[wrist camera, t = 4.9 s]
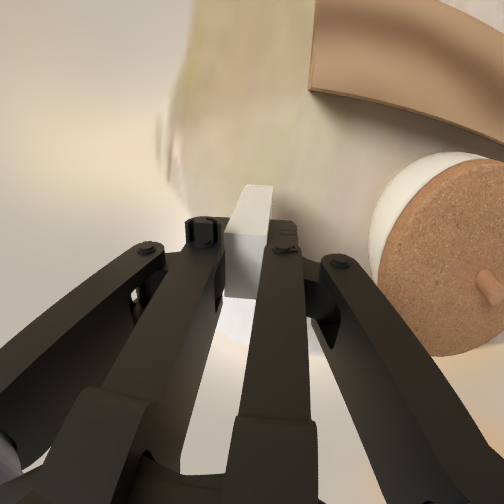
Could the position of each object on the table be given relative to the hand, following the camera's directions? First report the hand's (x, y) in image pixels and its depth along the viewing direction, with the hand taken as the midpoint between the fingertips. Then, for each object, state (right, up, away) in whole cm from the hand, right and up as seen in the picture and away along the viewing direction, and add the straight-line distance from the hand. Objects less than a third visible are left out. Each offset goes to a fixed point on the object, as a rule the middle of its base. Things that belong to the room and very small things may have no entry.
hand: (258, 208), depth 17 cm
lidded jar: (+11, 0, +1) cm, 11 cm away
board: (+19, +8, -4) cm, 21 cm away
